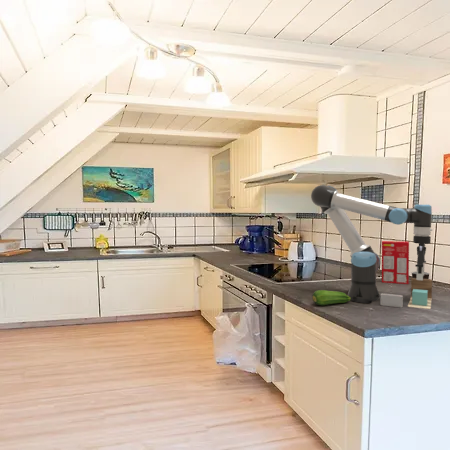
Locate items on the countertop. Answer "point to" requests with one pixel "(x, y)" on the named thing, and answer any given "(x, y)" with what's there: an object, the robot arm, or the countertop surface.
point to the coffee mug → (426, 276)
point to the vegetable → (329, 297)
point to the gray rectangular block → (391, 300)
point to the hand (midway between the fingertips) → (420, 277)
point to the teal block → (419, 297)
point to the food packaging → (395, 262)
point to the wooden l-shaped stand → (421, 285)
